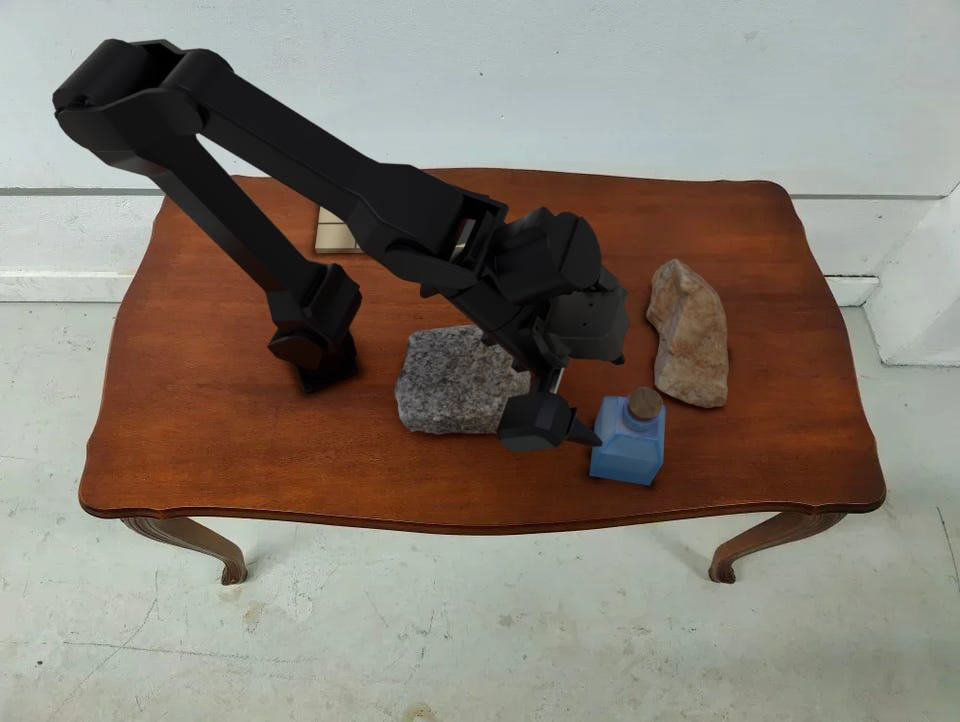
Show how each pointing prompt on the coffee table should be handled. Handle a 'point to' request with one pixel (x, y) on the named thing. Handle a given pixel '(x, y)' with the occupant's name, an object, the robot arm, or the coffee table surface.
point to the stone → (689, 336)
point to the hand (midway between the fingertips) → (610, 402)
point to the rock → (455, 382)
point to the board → (340, 240)
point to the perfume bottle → (630, 437)
